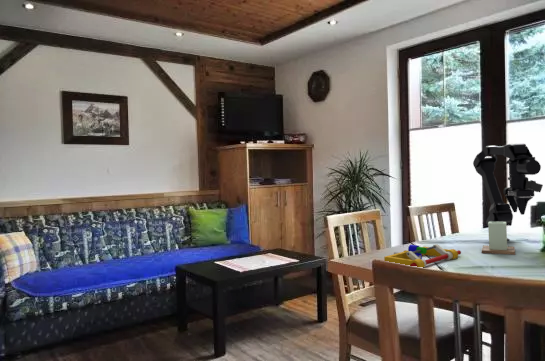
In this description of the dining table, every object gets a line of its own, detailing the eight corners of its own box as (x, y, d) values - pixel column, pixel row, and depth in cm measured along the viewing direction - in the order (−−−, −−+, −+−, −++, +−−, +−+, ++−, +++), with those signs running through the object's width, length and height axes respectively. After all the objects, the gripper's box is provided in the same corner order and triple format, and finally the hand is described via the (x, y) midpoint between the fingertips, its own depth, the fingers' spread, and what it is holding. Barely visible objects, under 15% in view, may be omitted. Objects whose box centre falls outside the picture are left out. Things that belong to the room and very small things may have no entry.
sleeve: (489, 247, 165) (488, 221, 165) (507, 247, 162) (506, 221, 162) (489, 249, 161) (488, 223, 161) (507, 250, 158) (506, 223, 158)
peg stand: (483, 247, 169) (482, 235, 169) (514, 249, 164) (514, 236, 164) (481, 253, 159) (481, 239, 159) (515, 254, 154) (514, 240, 154)
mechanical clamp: (463, 241, 155) (416, 253, 137) (464, 258, 155) (417, 273, 137) (419, 236, 169) (371, 247, 151) (419, 252, 170) (372, 264, 151)
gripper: (548, 174, 159) (550, 215, 159) (531, 173, 177) (532, 210, 177) (516, 175, 162) (517, 216, 162) (502, 174, 180) (503, 211, 180)
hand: (518, 213), depth 170 cm, fingers open, 9 cm apart
